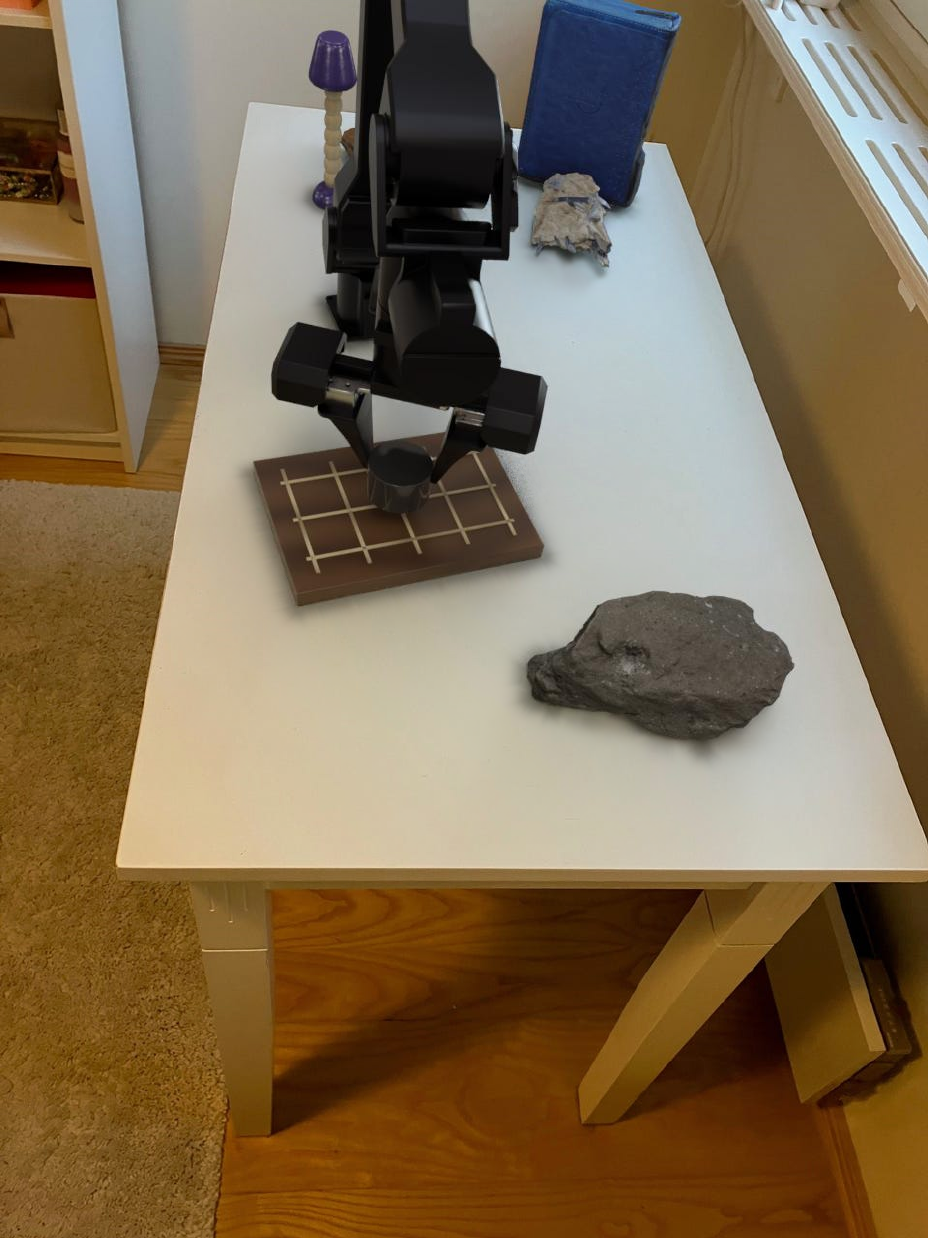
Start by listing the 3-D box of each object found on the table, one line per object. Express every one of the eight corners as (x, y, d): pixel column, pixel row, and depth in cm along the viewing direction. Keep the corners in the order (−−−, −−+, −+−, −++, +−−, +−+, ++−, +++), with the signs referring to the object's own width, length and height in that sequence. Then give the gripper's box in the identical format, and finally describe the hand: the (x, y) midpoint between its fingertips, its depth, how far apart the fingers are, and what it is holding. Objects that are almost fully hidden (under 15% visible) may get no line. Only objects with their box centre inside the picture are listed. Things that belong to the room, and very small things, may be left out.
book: (637, 196, 112) (692, 9, 96) (628, 218, 109) (684, 28, 93) (520, 162, 113) (556, -29, 97) (508, 183, 110) (543, -11, 94)
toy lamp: (349, 216, 102) (356, 50, 89) (305, 210, 102) (305, 42, 89) (353, 192, 105) (361, 28, 92) (311, 186, 105) (312, 20, 91)
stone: (548, 752, 64) (568, 610, 61) (516, 698, 72) (532, 569, 69) (796, 751, 68) (827, 618, 64) (739, 700, 76) (764, 579, 73)
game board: (253, 473, 78) (252, 459, 77) (479, 438, 85) (482, 424, 83) (297, 606, 71) (297, 593, 70) (541, 557, 77) (545, 544, 76)
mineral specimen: (533, 193, 110) (541, 157, 107) (605, 205, 111) (614, 170, 107) (528, 266, 101) (536, 229, 98) (606, 279, 102) (616, 243, 99)
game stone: (358, 471, 75) (360, 443, 73) (419, 463, 77) (423, 435, 74) (374, 518, 72) (377, 490, 70) (437, 509, 74) (442, 482, 71)
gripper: (576, 261, 67) (532, 429, 79) (312, 202, 66) (310, 380, 79) (558, 360, 60) (514, 527, 72) (265, 295, 60) (271, 473, 72)
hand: (401, 472), depth 74 cm, fingers closed on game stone, 5 cm apart
